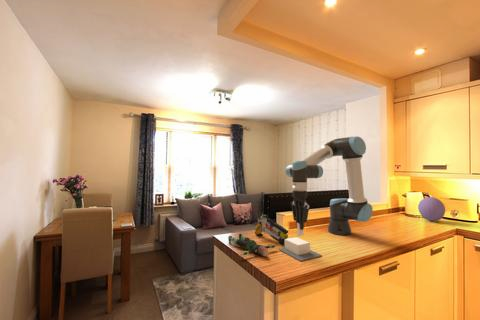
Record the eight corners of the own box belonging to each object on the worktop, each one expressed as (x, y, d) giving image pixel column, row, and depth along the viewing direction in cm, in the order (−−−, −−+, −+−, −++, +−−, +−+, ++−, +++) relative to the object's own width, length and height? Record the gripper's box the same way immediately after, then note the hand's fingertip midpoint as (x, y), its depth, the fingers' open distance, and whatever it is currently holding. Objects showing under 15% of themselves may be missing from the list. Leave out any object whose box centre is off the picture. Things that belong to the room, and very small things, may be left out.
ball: (445, 225, 176) (444, 199, 177) (417, 221, 188) (416, 197, 188) (445, 221, 189) (445, 197, 189) (419, 218, 200) (419, 195, 201)
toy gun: (257, 231, 155) (261, 210, 152) (285, 252, 134) (290, 229, 131) (252, 232, 152) (256, 211, 150) (280, 254, 132) (284, 230, 129)
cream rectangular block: (309, 252, 118) (295, 245, 128) (309, 242, 119) (295, 237, 128) (298, 255, 115) (284, 248, 125) (297, 245, 115) (284, 239, 125)
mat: (299, 246, 130) (299, 245, 130) (322, 256, 115) (322, 255, 115) (279, 250, 124) (279, 248, 124) (300, 261, 108) (300, 260, 108)
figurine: (216, 246, 131) (245, 267, 106) (216, 235, 131) (246, 254, 106) (251, 238, 145) (285, 255, 120) (251, 229, 145) (285, 243, 120)
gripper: (286, 189, 124) (286, 233, 123) (302, 191, 112) (303, 239, 111) (296, 188, 127) (297, 231, 126) (314, 190, 116) (314, 237, 115)
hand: (300, 235), depth 119 cm, fingers closed
